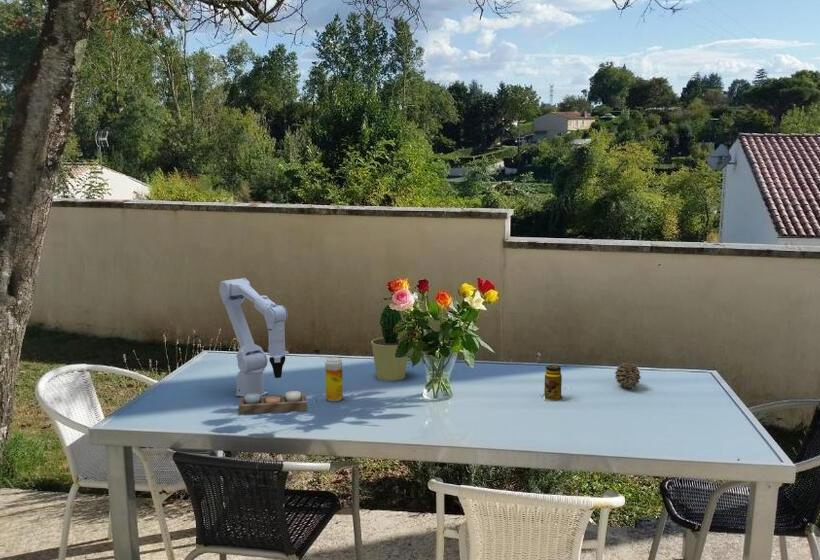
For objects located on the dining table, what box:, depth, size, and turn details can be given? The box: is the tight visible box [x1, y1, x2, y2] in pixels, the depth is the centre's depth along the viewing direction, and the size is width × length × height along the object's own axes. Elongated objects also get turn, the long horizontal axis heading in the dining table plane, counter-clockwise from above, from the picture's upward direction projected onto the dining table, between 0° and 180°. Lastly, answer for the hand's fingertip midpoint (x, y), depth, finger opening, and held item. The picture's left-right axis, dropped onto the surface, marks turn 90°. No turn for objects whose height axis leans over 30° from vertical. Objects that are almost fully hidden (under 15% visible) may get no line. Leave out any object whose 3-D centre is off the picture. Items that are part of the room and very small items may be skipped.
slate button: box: [245, 393, 260, 404], centre depth 264 cm, size 5×5×3 cm
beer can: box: [324, 357, 344, 403], centre depth 275 cm, size 6×6×15 cm
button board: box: [238, 393, 308, 416], centre depth 266 cm, size 23×10×3 cm, turn 100°
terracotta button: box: [265, 395, 281, 403], centre depth 266 cm, size 5×5×3 cm
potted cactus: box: [370, 303, 409, 382], centre depth 303 cm, size 15×15×30 cm
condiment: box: [541, 364, 565, 402], centre depth 276 cm, size 7×8×12 cm
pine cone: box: [614, 362, 642, 389], centre depth 292 cm, size 22×10×10 cm, turn 174°
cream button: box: [285, 390, 302, 402], centre depth 267 cm, size 5×5×3 cm
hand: (277, 377), depth 271 cm, fingers closed
